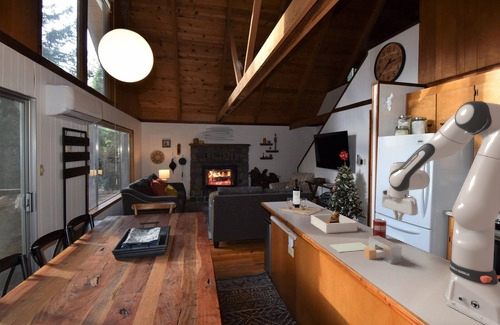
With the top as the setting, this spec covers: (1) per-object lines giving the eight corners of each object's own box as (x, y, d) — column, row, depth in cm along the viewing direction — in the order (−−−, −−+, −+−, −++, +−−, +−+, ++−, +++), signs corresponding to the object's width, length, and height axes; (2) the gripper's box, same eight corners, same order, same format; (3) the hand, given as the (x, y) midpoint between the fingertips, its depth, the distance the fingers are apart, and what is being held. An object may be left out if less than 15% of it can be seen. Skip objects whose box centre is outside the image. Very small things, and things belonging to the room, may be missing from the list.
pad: (372, 249, 137) (372, 248, 137) (339, 252, 133) (339, 251, 133) (360, 242, 147) (360, 242, 147) (329, 245, 143) (329, 244, 143)
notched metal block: (401, 262, 121) (401, 246, 120) (390, 263, 120) (391, 247, 119) (378, 249, 136) (378, 235, 136) (368, 250, 135) (368, 236, 135)
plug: (398, 256, 128) (398, 248, 128) (368, 259, 125) (369, 250, 124) (392, 253, 132) (392, 245, 132) (363, 256, 129) (364, 247, 128)
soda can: (387, 241, 148) (388, 222, 148) (374, 241, 150) (375, 221, 149) (383, 237, 155) (384, 218, 155) (371, 236, 157) (371, 218, 156)
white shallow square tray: (357, 231, 168) (357, 222, 168) (326, 233, 163) (326, 224, 163) (338, 221, 190) (338, 213, 190) (310, 223, 186) (311, 215, 186)
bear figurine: (322, 224, 182) (322, 208, 182) (343, 227, 178) (344, 210, 177) (321, 230, 169) (321, 213, 169) (344, 233, 165) (344, 215, 164)
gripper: (421, 196, 118) (421, 225, 119) (389, 190, 138) (389, 214, 139) (410, 197, 117) (409, 226, 118) (379, 190, 137) (379, 215, 138)
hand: (398, 219), depth 129 cm, fingers closed
